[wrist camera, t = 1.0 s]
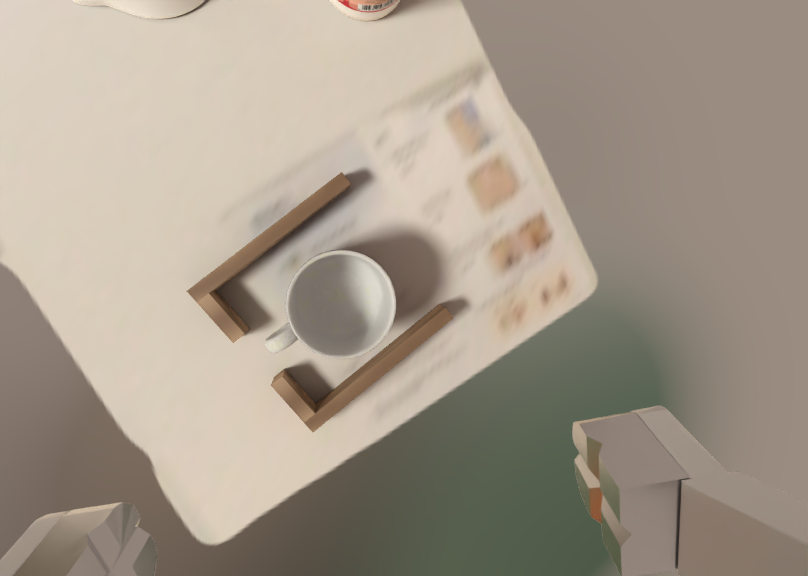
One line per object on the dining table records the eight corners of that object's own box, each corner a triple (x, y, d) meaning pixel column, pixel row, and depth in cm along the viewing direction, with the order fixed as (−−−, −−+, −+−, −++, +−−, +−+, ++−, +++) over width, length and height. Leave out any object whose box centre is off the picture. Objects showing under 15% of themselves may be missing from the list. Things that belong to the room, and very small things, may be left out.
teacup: (367, 235, 52) (374, 233, 44) (400, 322, 53) (412, 336, 45) (249, 278, 50) (234, 285, 42) (286, 367, 51) (278, 389, 44)
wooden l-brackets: (195, 288, 49) (186, 291, 46) (340, 176, 50) (341, 172, 47) (313, 421, 52) (312, 432, 50) (446, 313, 54) (453, 317, 51)
